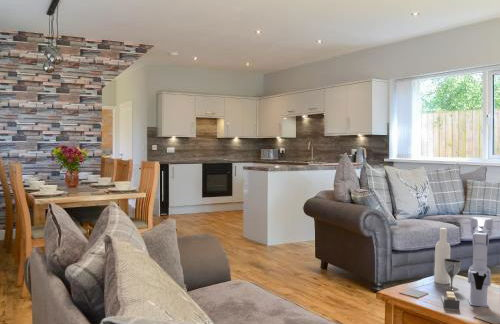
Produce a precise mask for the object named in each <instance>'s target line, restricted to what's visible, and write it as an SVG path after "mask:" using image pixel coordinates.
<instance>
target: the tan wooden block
mask: <svg viewBox="0 0 500 324" xmlns="http://www.w3.org/2000/svg"><path fill="white" fill-rule="evenodd" d="M445 293H446V295H445V297H446V299H452V300H455V299H457V297H456V295H455V293H454V291H450V290H447V291H445ZM455 297H456V298H455Z"/></svg>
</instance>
